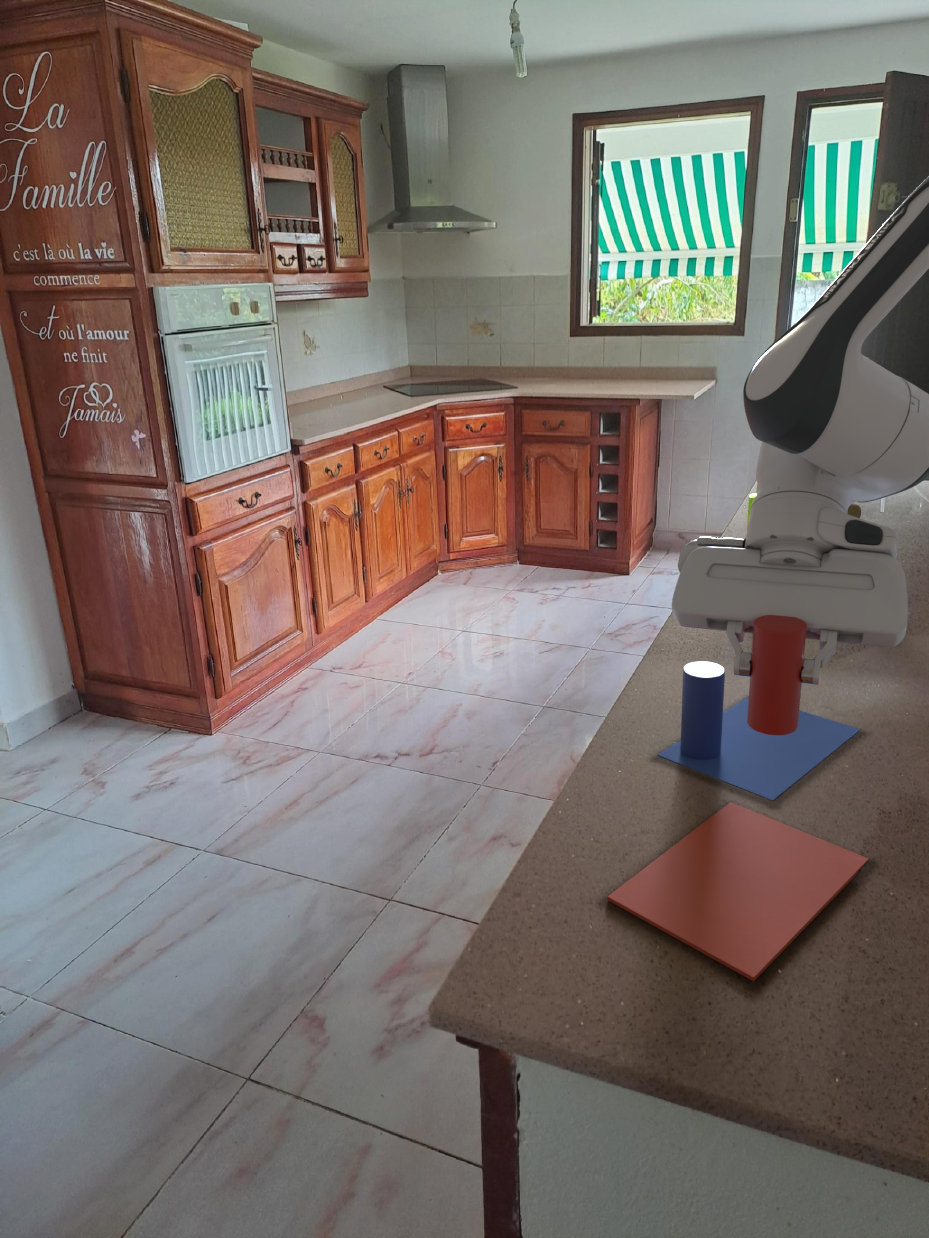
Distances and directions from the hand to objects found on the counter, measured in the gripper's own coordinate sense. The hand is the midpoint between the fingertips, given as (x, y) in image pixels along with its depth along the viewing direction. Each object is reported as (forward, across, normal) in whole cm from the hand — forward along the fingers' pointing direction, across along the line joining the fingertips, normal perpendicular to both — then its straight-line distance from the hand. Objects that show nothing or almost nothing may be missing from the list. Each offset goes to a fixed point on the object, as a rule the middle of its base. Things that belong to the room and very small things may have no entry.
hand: (775, 677), depth 78 cm
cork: (-52, +3, +76) cm, 92 cm away
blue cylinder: (+2, -8, +21) cm, 23 cm away
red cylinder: (+3, 0, +4) cm, 5 cm away
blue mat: (-1, -2, +24) cm, 24 cm away
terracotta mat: (+17, -1, +6) cm, 18 cm away
